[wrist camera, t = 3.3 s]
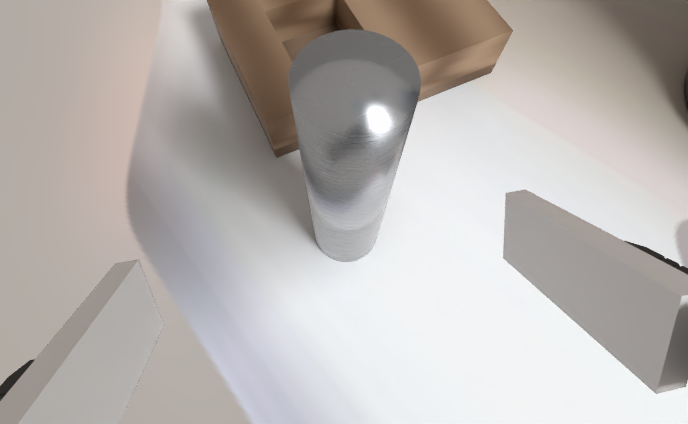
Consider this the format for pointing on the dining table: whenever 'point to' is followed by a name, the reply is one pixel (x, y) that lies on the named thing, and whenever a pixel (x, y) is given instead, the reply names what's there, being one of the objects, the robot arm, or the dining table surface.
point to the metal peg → (351, 132)
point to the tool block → (360, 14)
